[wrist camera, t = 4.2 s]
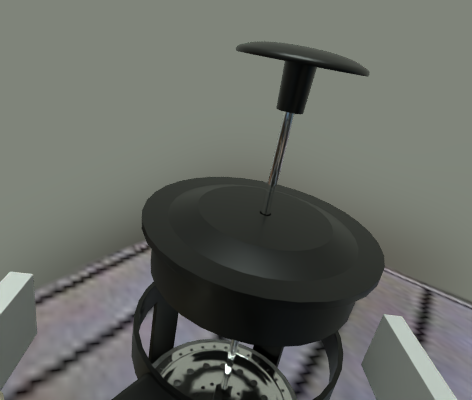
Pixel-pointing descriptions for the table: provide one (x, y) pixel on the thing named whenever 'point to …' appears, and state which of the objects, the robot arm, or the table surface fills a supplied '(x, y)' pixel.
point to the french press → (250, 269)
